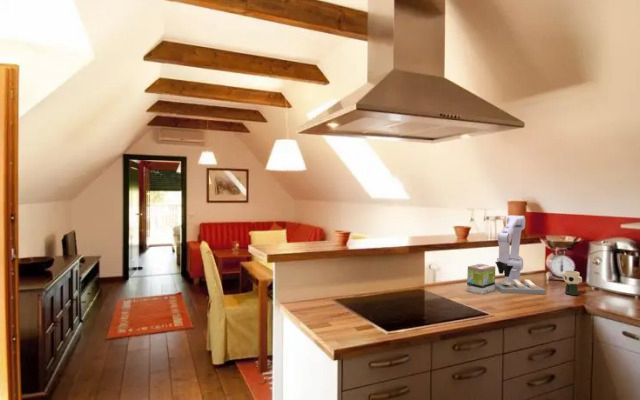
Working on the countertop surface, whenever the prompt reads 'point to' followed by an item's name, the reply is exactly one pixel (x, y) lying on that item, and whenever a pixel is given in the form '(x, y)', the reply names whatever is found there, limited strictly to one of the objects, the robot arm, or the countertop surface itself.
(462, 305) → the countertop surface
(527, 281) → the rocker
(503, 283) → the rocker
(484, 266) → the tea box
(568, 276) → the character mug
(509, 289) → the panel
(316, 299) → the countertop surface
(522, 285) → the rocker
